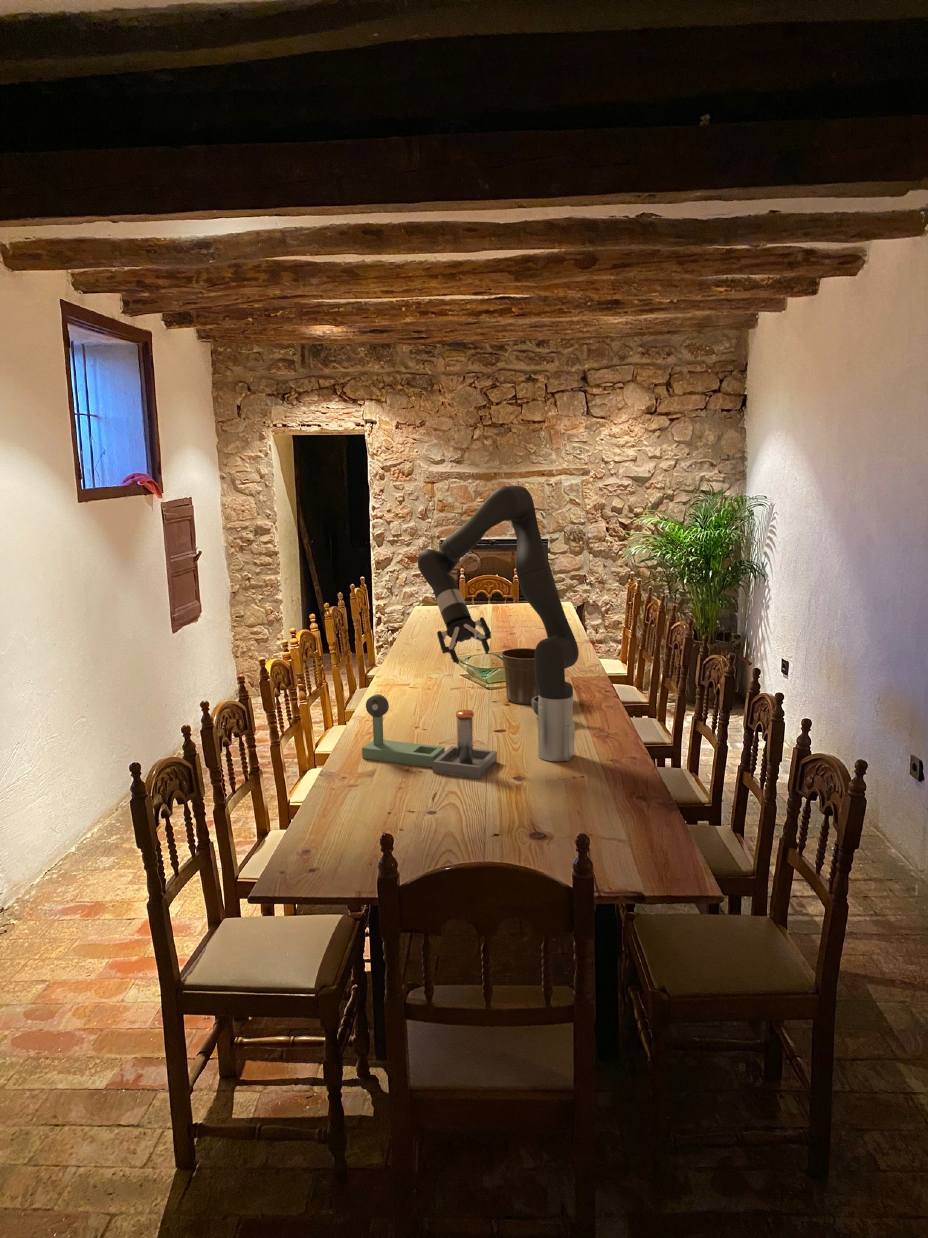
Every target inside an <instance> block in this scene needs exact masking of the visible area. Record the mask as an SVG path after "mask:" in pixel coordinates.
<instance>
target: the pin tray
mask: <svg viewBox="0 0 928 1238" xmlns="http://www.w3.org/2000/svg"><path fill="white" fill-rule="evenodd" d="M497 762H498V751H497V750H490V749H482V748H474V747H473V764H472V765H469V764H461V763H458V749H457V745H456V746H454V745H451V746H450V747H448V749H445V752H444V753H443V754H441V755H440V756H439V757H438V758H437V759H435V760H434V761H433V767H432V773H434V774H441V775H447V776H448V775H449V776H455V777H463V778H470V779H477V780H481V778H483V777H484V776H485V775H486V774H487V772H489V770H490V769H492V767H494V765H496V764H497Z"/></svg>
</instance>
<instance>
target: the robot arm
mask: <svg viewBox="0 0 928 1238" xmlns="http://www.w3.org/2000/svg"><path fill="white" fill-rule="evenodd" d="M505 521H507V522H508V521H511V522H510V523H511V524H512V527H513V531H514V534H515V537H516V545H517V546H516V556H515V573H516V577H517V579H518V585H519V587H520V590H521V592H522V595H523V597H524V598H525V600H526V601H527V602H528V603H527V604H529V605H530V606H531V608H532V609H533V610H534V611H535V613H536V614H537V615H538V617H540V620H541V622H542V624H543V627H544V629H545V633H546V636H547V637H546V638H544V639H541V640H540V641H539V642H538V643H537V644H536V645H535V646H536V647H535V648H534V649H535V680H536V685H537V687H538V694H539V695H538V715H537V718H538V721H537V722H538V730H537V732H538V733H537V738H538V741H537V743H538V744H537V746H538V747H537V750H538V751H537V752H538V754H537V755H538V757H539V758H540V759H541V760H545V761H549V762H569V761H570V760H571V759H572V758H573V756H574V755H575V729H576V728H575V727H576V725H575V723H576V722H575V720H573V717H574V714H573V709H574V707H573V705H574V703H573V702H574V687H573V684H571V682H567V681H566V675H565V673H566V672H565V669H568V668H571V667H572V666H574V665H575V664H576V663H577V662H578V659H579V646H578V643H577V640H576V637H575V635H574V633H573V630H572V628H571V625H570V623H569V621H568V619H567V616H566V613H565V611H564V607H563V604H562V601H561V598H560V595H559V593H558V589H557V586H556V582H555V578H554V574H553V572H552V569H551V564H550V562H549V559H548V557H547V553H546V549H545V546H544V543H543V538H542V537H541V533H540V529H539V525H538V524H539V523H538V519H537V513H536V509H535V504H534V500H533V497H532V494H531V493H530V492H529V490H528V489H527V488H526V487H524V486H521V485H503V486H500V487H498V488H496V489H495V490H494V491H493V492H492V493H491V494H490V495H489V496H488V497H487V499H485V501H484V502H483V504H482V505H481V506H480V507H479V508H478V509H477V510H476V511H475V512H474V514H473V515H472V516H470V518H469V519H467V520H466V522H464V523H463V524H462V525H460V527H458V528H456V530H454V531H453V532H452V533H451V534H450V535H448V536H447V537H446V538H445V539H444V540H442V542H441V543H442V544H441V550H440V551H439V550H437V549H436V550H435V549H430V548H426V549H423V550H421V552H420V553H419V554H418V557H417V566H418V570H419V572H420V574H421V575H422V577H423V578H424V579H425V581H426V582H427V584H428V585H429V587H430V588H431V589H432V592H433V594H434V597H435V600H436V602H437V606H438V610H439V613H440V615H441V619H442V620H443V623H444V626H445V628H446V630H444V631H441V630H438V631H436V632H437V633H436V634H437V639H438V643H439V646H440V649H441V653H442V654H446V653H447V654H449V655H450V658H451V661H452V662H453V663H454V664H456V665H458V664H460V662H459V660H460V659H459V658H458V655H457V652H456V650H455V649H456V646H457V643H463V642H464V641H469V640H471V639H472V638H473V639H474V640H476V641H477V640H478V641H479V642H481V645H482V648H483V651H484V653H485V655H489V652H490V645H489V643H488V640H489V639H491V638H492V632H491V629H490V628H489V625H488V624H487V622H486V620H485V618H484V617H483V616H481V617H479V619H477V620H475V621H474V620H473V619H472V615H471V613H470V612H469V609H468V606H467V604H466V601H465V599H464V597H463V595H462V594H461V591H460V589H459V586H458V584H457V581H456V578H454V577H453V575H451V574H450V573H452V571H453V570H454V568H455V567H457V564H458V563H459V562H460V560H461V559H462V558H463V557H464V556H466V555H467V554H468V553H469V552H471V551H472V550H473V549H475V548H476V547H477V546H478V544H479V543H480V541H481V540H482V538H483V537H484V536H485V534H486V533H487V532H488V531H489V530H490V529H492V528H493V527H495V526H497V525H498V524H500V523H503V522H505ZM477 627H478V628H481V629H482V630H483V633H484V634H483V633H481V632H480V631H479V630H477V629H476V628H477ZM446 636H448V637H449V638H451V639H450V643H449V645H448V646H447V645H446V643H445V640H446V639H447V638H446Z"/></svg>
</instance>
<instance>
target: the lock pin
mask: <svg viewBox="0 0 928 1238" xmlns="http://www.w3.org/2000/svg"><path fill="white" fill-rule="evenodd" d="M455 717H456V719H457V721H456V722H457V723H456V724H457V725H456V726H457V727H456V728H457V730H456V733H457V735H456V737H457V742H456V743H457V745H456V746H457V749H458V763H461V764H469V765H472V764H473V748H474V744H473V743H474V742H473V740H474V739H473V738H474V735H473V731H474V730H473V729H474V727H473V725H474V723H473V718H474V711H473V710H472V709H471V710H470V709H460V710H457V711H455Z"/></svg>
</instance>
